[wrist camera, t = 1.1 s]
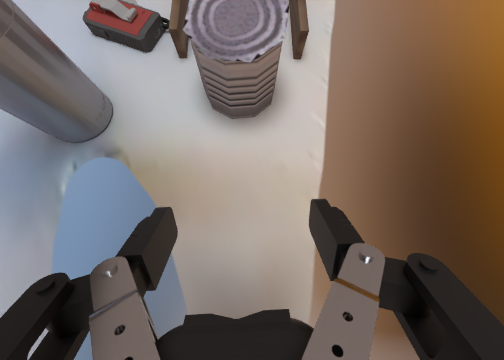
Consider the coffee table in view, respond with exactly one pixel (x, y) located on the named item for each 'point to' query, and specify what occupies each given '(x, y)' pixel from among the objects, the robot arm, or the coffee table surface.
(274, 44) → the can
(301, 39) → the walnut bay
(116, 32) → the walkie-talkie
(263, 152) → the coffee table surface
